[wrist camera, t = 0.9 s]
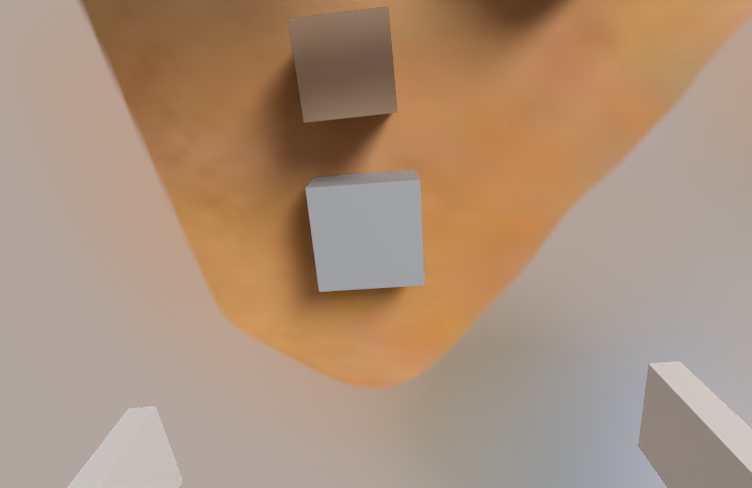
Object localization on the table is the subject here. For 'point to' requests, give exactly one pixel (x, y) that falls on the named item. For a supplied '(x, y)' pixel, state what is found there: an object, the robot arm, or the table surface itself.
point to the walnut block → (344, 64)
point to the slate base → (367, 230)
